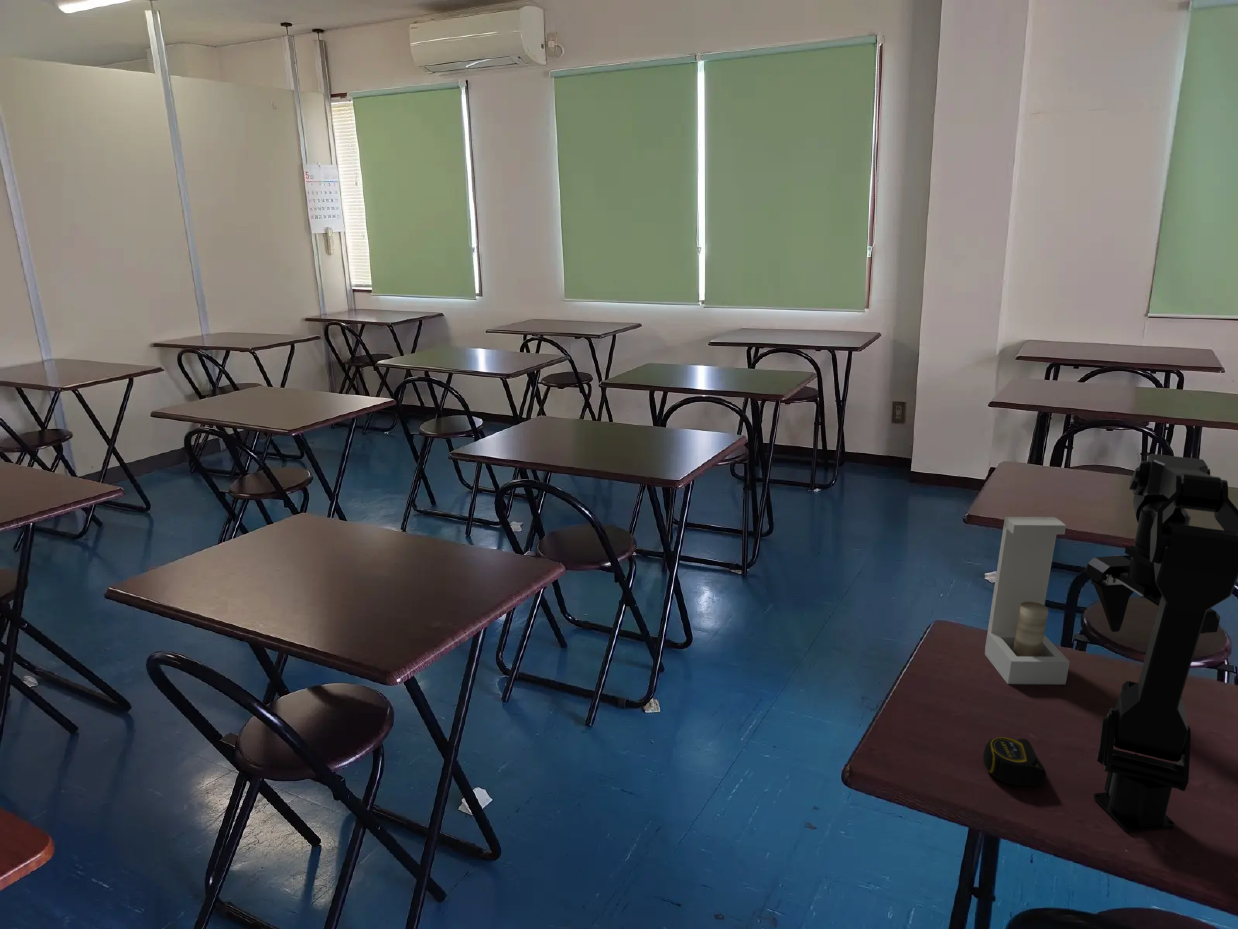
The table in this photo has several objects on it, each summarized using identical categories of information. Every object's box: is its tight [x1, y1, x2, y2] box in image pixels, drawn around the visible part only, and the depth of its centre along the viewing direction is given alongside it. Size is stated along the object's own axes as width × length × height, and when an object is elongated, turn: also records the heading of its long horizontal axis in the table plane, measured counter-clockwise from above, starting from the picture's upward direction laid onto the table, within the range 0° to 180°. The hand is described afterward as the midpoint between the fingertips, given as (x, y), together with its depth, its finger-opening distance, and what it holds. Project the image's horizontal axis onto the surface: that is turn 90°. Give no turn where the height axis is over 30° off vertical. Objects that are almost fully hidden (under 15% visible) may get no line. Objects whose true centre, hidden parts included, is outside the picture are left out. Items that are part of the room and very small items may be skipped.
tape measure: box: [982, 736, 1047, 786], centre depth 113 cm, size 7×7×4 cm
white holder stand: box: [984, 516, 1070, 685], centre depth 135 cm, size 10×9×24 cm
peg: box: [1013, 602, 1049, 657], centre depth 136 cm, size 4×4×11 cm
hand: (1137, 647), depth 121 cm, fingers open, 9 cm apart
